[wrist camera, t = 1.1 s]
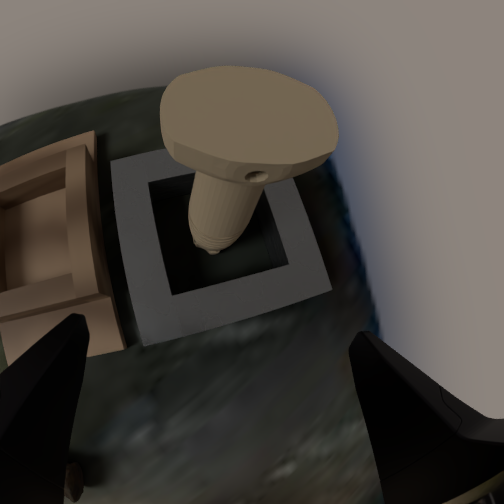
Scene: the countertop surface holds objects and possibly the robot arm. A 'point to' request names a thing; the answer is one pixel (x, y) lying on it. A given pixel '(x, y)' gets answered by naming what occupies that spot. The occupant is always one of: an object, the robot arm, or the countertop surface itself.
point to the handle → (241, 141)
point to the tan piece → (54, 248)
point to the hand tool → (73, 482)
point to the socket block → (220, 295)
